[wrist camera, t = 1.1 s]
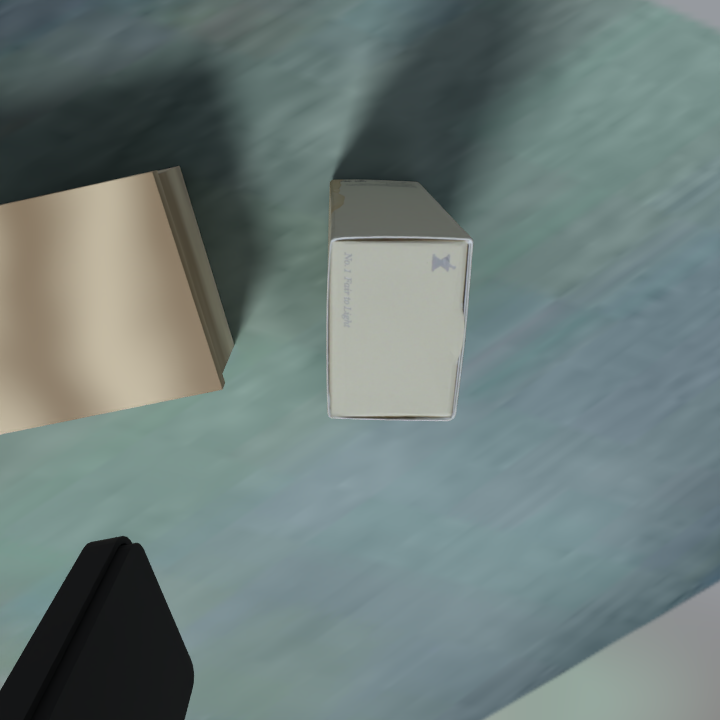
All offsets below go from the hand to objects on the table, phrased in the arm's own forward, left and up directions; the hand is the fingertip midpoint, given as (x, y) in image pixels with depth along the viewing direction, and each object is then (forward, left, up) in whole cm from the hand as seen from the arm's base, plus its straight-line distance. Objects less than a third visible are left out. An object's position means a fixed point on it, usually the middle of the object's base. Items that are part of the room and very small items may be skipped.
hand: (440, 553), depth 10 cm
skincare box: (0, 0, -22) cm, 22 cm away
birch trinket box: (+14, -1, -22) cm, 26 cm away
